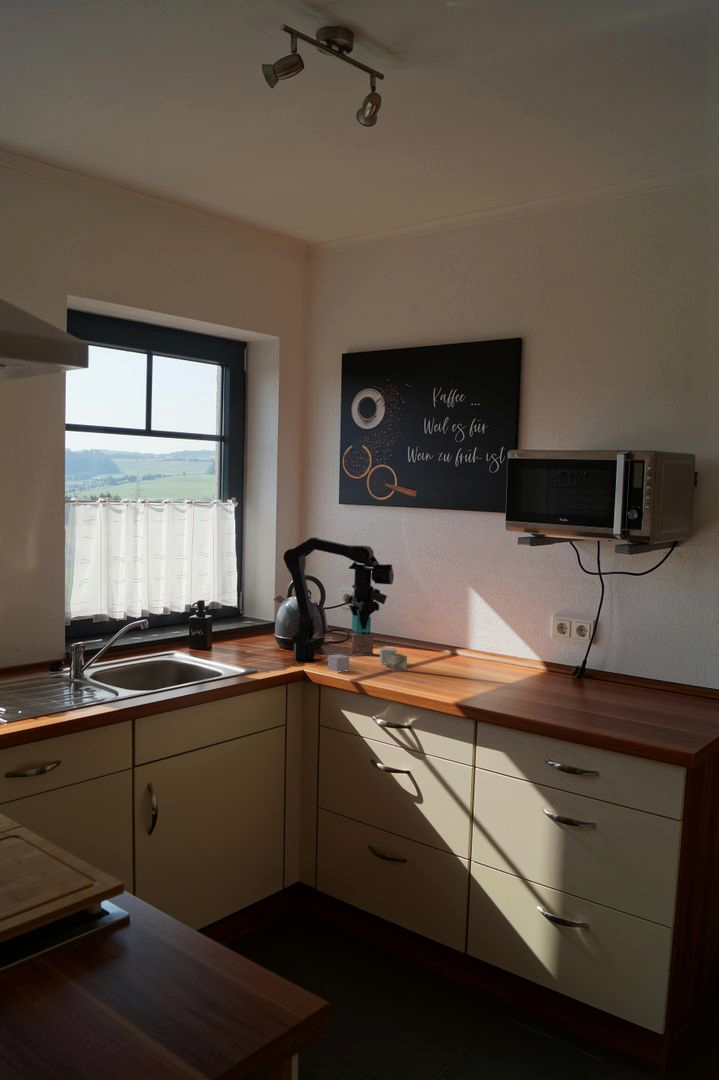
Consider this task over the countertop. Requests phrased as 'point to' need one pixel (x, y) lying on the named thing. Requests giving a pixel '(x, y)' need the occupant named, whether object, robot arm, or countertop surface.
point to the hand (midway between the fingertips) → (361, 627)
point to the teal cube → (357, 626)
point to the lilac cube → (338, 662)
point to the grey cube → (386, 651)
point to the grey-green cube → (396, 662)
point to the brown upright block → (362, 643)
